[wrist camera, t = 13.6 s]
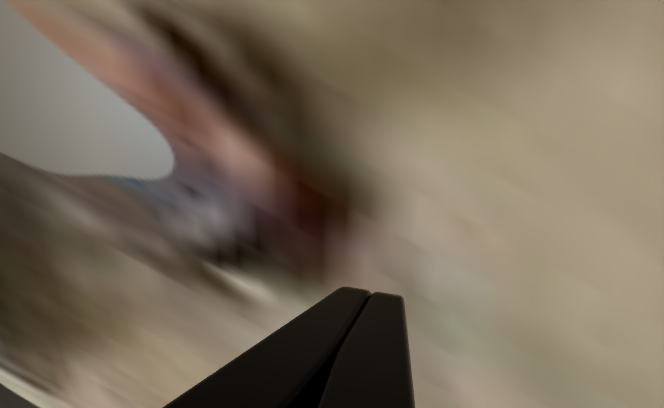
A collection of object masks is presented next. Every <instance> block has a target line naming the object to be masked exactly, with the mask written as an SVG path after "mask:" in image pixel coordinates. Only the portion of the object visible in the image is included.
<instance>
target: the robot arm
mask: <svg viewBox="0 0 664 408" xmlns="http://www.w3.org/2000/svg"><path fill="white" fill-rule="evenodd" d="M163 408H415V400H414V390H413V381H412V371H411V362H410V352H409V343H408V333H407V323H406V314H405V304H404V299H403V297H402V296H400V295H394V294H388V293H382V292H375V293H373V294H372V293H371V292H370V291H368V290H364V289H358V288H352V287H341V288H339V289H337V290H336V291H334V292H333V293H332V294H330V295H329V296H327V297H326V298H324V299H323V300H321V301H320V302H318V303H317V304H315V305H314V306H312V307H311V308H309V309H308V310H306V311H305V312H303V313H302V314H300V315H299V316H297V317H296V318H295V319H293V320H292V321H290V322H289V323H287V324H286V325H284V326H283V327H281V328H280V329H278V330H277V331H275V332H274V333H272V334H271V335H269V336H268V337H266V338H265V339H263V340H262V341H260V342H259V343H257V344H256V345H255V346H253V347H252V348H250V349H249V350H247V351H246V352H244V353H243V354H241V355H240V356H238V357H237V358H235V359H234V360H232V361H231V362H229V363H228V364H226V365H225V366H223V367H222V368H220V369H219V370H218V371H216V372H215V373H213V374H212V375H210V376H209V377H207V378H206V379H204V380H203V381H201V382H200V383H198V384H197V385H195V386H194V387H192V388H191V389H189V390H188V391H186V392H185V393H183V394H182V395H180V396H179V397H178V398H176V399H175V400H173V401H172V402H170V403H169V404H167V405H166V406H164V407H163Z"/></svg>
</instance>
